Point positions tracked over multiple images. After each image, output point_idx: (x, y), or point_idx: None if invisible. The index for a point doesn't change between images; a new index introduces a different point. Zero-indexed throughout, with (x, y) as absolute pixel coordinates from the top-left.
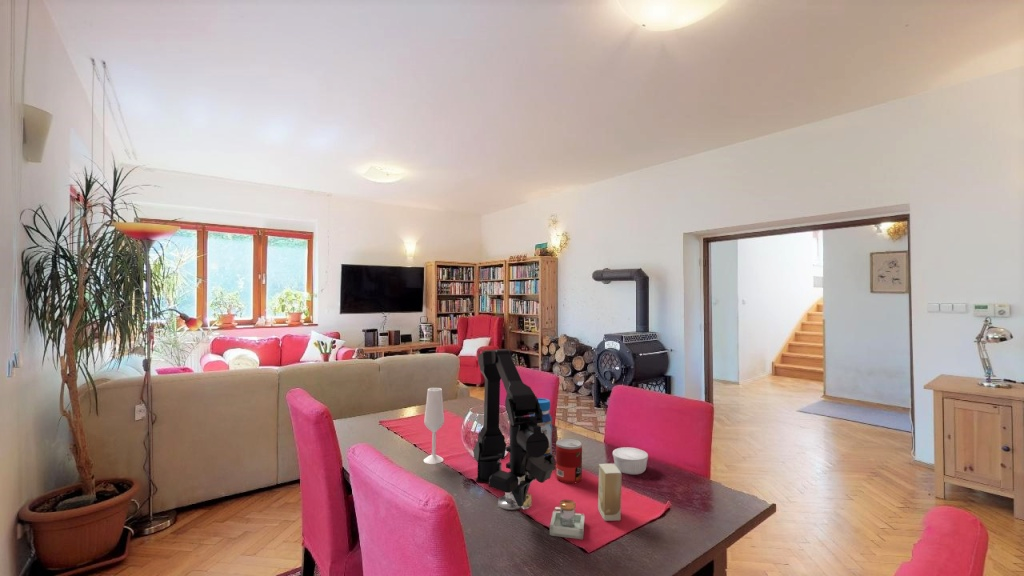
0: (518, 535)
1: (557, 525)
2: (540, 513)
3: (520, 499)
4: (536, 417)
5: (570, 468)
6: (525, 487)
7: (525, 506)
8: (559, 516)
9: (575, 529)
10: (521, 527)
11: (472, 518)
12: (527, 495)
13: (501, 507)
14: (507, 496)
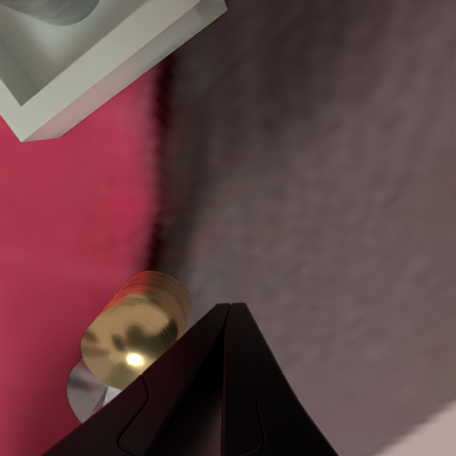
0: (366, 174)
1: (106, 31)
2: (81, 232)
3: (267, 347)
4: None
5: None
6: (158, 450)
7: (185, 292)
8: (23, 83)
9: None
10: (278, 218)
11: (374, 439)
12: (120, 349)
13: None
14: None
